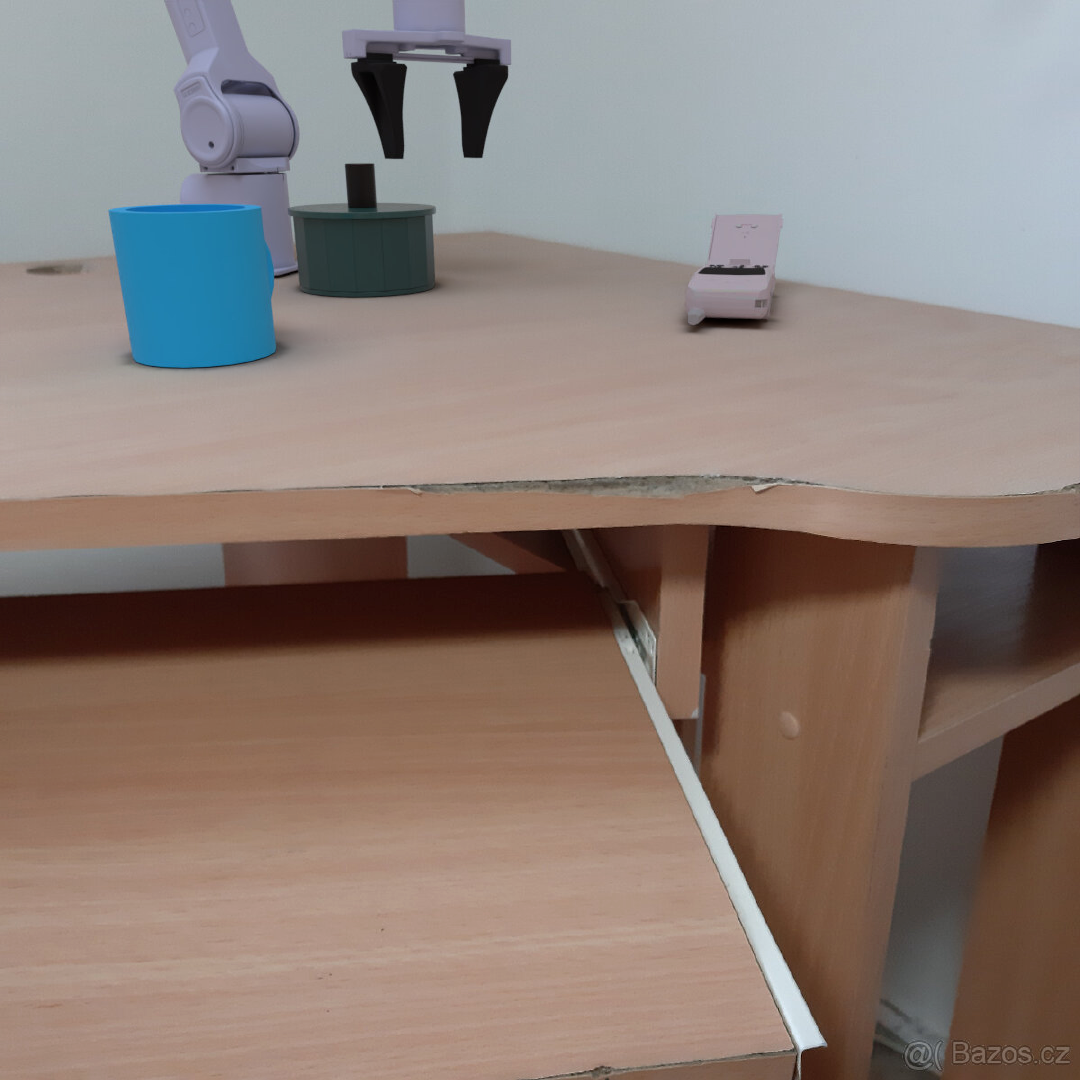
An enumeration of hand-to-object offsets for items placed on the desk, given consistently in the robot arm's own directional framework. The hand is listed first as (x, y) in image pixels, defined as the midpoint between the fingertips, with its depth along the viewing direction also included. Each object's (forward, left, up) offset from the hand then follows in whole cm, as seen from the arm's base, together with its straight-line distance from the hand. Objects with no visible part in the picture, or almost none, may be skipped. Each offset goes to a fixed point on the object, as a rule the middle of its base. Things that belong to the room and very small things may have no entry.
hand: (434, 158), depth 80 cm
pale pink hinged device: (+26, -7, -10) cm, 28 cm away
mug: (-5, -29, -10) cm, 31 cm away
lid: (-5, -3, -4) cm, 8 cm away
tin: (-5, -3, -10) cm, 12 cm away
